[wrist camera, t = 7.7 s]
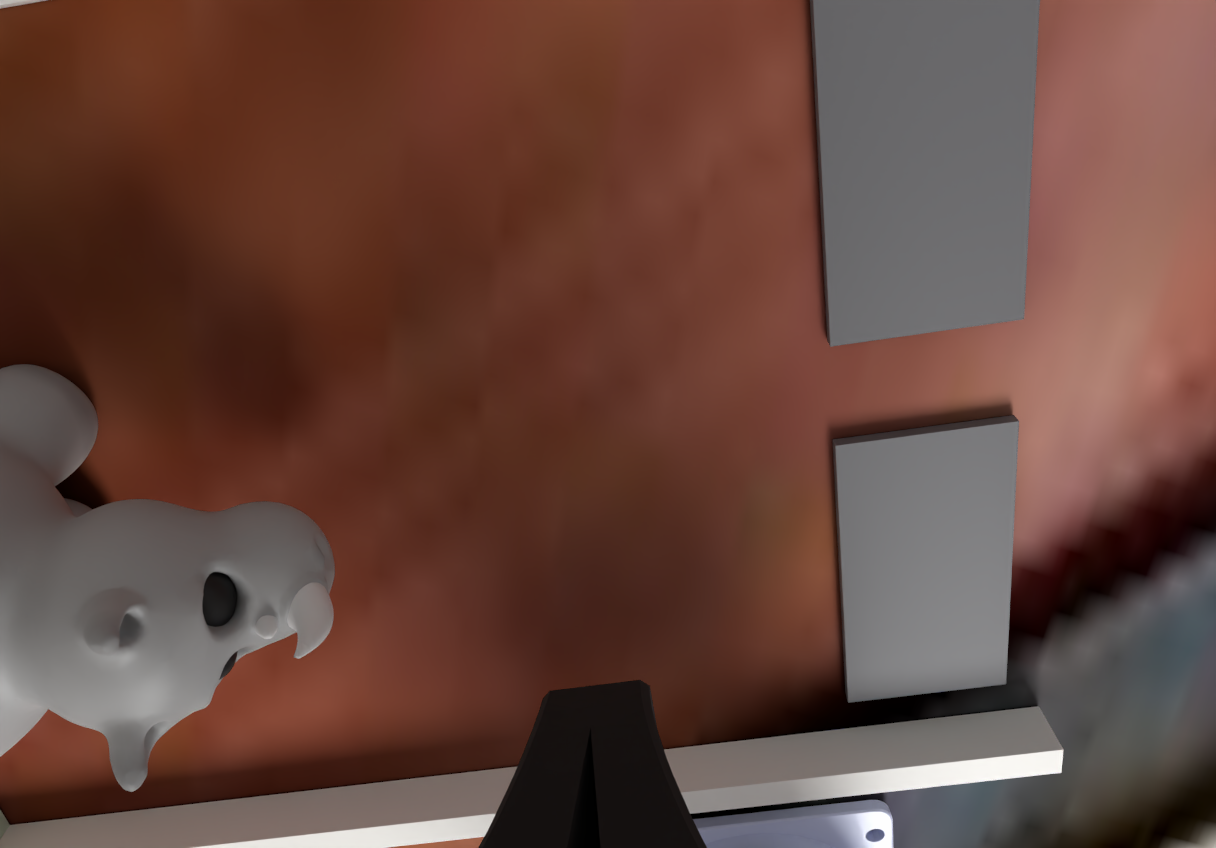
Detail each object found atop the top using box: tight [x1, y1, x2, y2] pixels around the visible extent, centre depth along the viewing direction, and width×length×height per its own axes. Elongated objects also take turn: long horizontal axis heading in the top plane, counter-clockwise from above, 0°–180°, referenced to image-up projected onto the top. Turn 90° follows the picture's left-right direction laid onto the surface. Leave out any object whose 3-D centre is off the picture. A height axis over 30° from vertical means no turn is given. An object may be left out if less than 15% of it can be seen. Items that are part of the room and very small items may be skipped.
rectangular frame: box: [0, 0, 1063, 848], centre depth 20 cm, size 22×29×2 cm
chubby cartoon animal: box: [0, 364, 335, 792], centre depth 18 cm, size 7×12×8 cm, turn 85°
